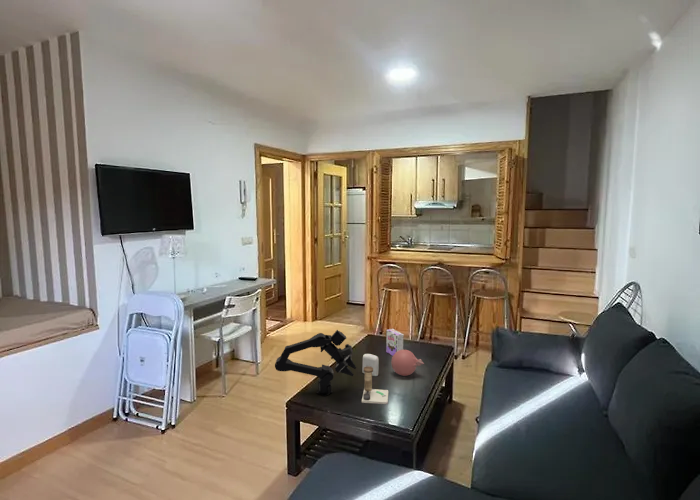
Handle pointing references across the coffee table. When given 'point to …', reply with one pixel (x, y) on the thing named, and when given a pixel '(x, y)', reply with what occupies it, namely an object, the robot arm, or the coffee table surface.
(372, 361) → the photo printer
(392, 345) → the candy box
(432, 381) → the coffee table surface
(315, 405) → the coffee table surface
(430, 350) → the coffee table surface
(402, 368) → the balloon
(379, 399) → the dial board
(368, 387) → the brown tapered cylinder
